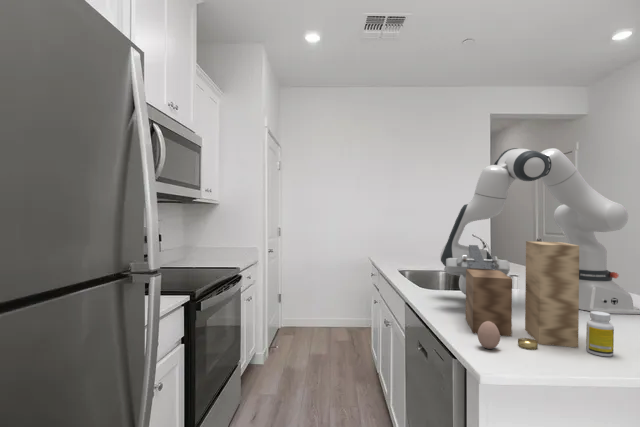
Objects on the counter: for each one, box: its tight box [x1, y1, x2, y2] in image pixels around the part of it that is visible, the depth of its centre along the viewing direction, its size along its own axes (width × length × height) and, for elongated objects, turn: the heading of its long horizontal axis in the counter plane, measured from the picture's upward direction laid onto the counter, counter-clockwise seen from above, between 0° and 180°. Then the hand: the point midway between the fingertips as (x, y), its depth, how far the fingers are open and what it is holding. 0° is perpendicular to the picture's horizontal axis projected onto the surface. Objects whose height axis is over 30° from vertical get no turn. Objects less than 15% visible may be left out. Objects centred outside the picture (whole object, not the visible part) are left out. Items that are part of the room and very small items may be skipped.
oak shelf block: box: [524, 240, 580, 348], centre depth 104 cm, size 9×13×26 cm
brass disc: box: [517, 337, 539, 351], centre depth 97 cm, size 4×4×2 cm
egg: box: [477, 321, 501, 350], centre depth 96 cm, size 5×5×7 cm
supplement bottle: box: [585, 311, 615, 357], centre depth 93 cm, size 5×5×10 cm
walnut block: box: [465, 269, 513, 337], centre depth 114 cm, size 10×16×16 cm, turn 166°
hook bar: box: [467, 244, 496, 270], centre depth 132 cm, size 21×8×3 cm, turn 166°
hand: (479, 257), depth 125 cm, fingers open, 8 cm apart
